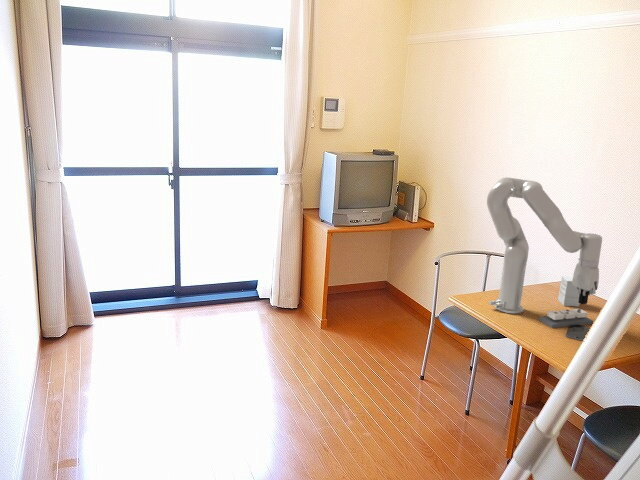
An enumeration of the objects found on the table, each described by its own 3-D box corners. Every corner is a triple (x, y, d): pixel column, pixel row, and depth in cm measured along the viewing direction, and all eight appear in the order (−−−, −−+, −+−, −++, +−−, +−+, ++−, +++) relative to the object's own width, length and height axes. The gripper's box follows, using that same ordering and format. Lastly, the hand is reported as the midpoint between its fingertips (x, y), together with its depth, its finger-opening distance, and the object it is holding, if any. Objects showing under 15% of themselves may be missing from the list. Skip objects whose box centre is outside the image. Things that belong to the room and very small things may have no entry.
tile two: (566, 318, 213) (567, 314, 213) (558, 314, 217) (559, 309, 217) (575, 317, 214) (575, 313, 214) (567, 313, 219) (568, 309, 218)
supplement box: (573, 301, 241) (577, 276, 238) (579, 307, 234) (584, 281, 231) (557, 300, 242) (561, 275, 238) (563, 305, 235) (567, 280, 231)
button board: (551, 327, 210) (552, 324, 210) (539, 320, 218) (539, 316, 217) (592, 323, 216) (593, 320, 215) (578, 316, 223) (579, 313, 223)
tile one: (554, 319, 212) (555, 315, 211) (546, 315, 216) (547, 310, 215) (563, 319, 213) (564, 314, 212) (555, 314, 217) (556, 310, 216)
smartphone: (589, 327, 211) (585, 340, 198) (589, 329, 212) (585, 342, 198) (570, 322, 215) (565, 335, 202) (570, 324, 215) (564, 337, 202)
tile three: (577, 317, 215) (578, 313, 214) (569, 313, 219) (570, 308, 218) (586, 316, 216) (587, 312, 215) (578, 312, 220) (579, 308, 220)
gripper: (568, 258, 217) (562, 298, 222) (594, 268, 203) (588, 310, 208) (582, 257, 219) (577, 296, 224) (609, 267, 205) (603, 308, 210)
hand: (582, 303), depth 216 cm, fingers closed
